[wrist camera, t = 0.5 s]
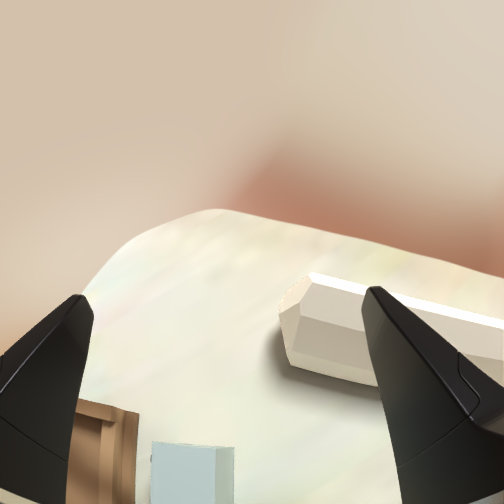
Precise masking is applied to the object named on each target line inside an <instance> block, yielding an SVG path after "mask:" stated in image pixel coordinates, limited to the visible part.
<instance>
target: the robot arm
mask: <svg viewBox="0 0 504 504" xmlns="http://www.w3.org/2000/svg"><path fill="white" fill-rule="evenodd" d="M361 313H362V318H363V323H364V328H365V334H366V339H367V345H368V350H369V355H370V359H371V363H372V366H373V370H374V373H375V377H376V381H377V384H378V388H379V392H380V396H381V399H382V403H383V407H384V412H385V416H386V420H387V424H388V429H389V433H390V438H391V442H392V447H393V452H394V457H395V462H396V467H397V474H398V479H399V485H400V491H401V498H402V504H504V387H503V386H501V385H500V384H499V383H497V382H496V381H495V380H493V379H492V378H491V377H489V376H488V375H487V374H486V373H484V372H483V371H482V370H481V369H479V368H478V367H477V366H476V365H475V364H473V363H472V362H471V361H470V360H469V359H467V358H466V357H465V356H464V355H463V354H462V353H461V352H458V350H457V349H456V348H455V347H454V346H453V345H451V344H450V343H449V342H448V341H447V340H446V339H444V338H443V337H442V336H441V335H440V334H439V333H437V332H436V331H435V330H434V329H433V328H431V327H430V326H429V325H428V324H427V323H425V322H424V321H423V320H422V319H421V318H419V317H418V316H417V315H416V314H415V313H413V312H412V311H411V310H410V309H408V308H407V307H406V306H405V305H404V304H402V303H401V302H400V301H399V300H397V299H396V298H395V297H394V296H392V295H391V294H390V293H389V292H387V291H386V290H385V289H383V288H382V287H381V286H372V287H368V288H367V290H366V293H365V296H364V299H363V303H362V307H361ZM93 321H94V314H93V311H92V309H91V307H90V305H89V303H88V301H87V299H86V297H85V296H84V295H78V294H75V295H72V296H71V297H69V298H68V299H67V300H66V301H64V302H63V303H62V304H61V305H59V306H58V307H57V308H56V309H55V310H53V311H52V312H51V313H50V314H48V315H47V316H46V317H45V318H44V319H43V320H41V321H40V322H39V323H38V324H37V325H35V326H34V327H33V328H32V329H31V330H30V331H29V332H27V333H26V334H25V335H24V336H23V337H22V338H20V340H18V341H17V342H16V343H15V344H14V345H13V346H11V347H10V348H9V349H8V350H7V351H6V352H5V353H4V355H2V356H0V504H66V487H67V473H68V461H69V452H70V444H71V437H72V430H73V424H74V418H75V412H76V406H77V401H78V396H79V391H80V387H81V382H82V377H83V373H84V369H85V365H86V360H87V355H88V350H89V343H90V337H91V331H92V326H93Z"/></svg>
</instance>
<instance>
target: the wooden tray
mask: <svg viewBox="0 0 504 504" xmlns="http://www.w3.org/2000/svg"><path fill="white" fill-rule="evenodd" d="M138 422H139V414H138V413H135V412H129V411H125V410H122V409H119V408H116V407H113V406H110V405H105V404H100V403H96V402H92V401H87V400H83V399H79V398H78V401H77V406H76V412H75V418H74V424H73V430H72V437H71V444H70V452H69V461H68V473H67V487H66V504H135V471H136V450H137V435H138Z"/></svg>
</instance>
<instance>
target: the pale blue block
mask: <svg viewBox="0 0 504 504" xmlns="http://www.w3.org/2000/svg"><path fill="white" fill-rule="evenodd" d="M150 504H234V447H219V446H204V445H193V444H179V443H165V442H154V441H152V455H151V501H150Z"/></svg>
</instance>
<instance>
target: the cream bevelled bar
mask: <svg viewBox="0 0 504 504" xmlns="http://www.w3.org/2000/svg"><path fill="white" fill-rule="evenodd" d="M367 288H368V286H364V285H360V284H356V283H352V282H349V281H345V280H341V279H337V278H333V277H329V276H325V275H321V274H317V273H311V274H308V275H307V276H306V277H304V278H303V279H302V280H300V281H299V282H297V283H296V284H295V285H293V286H292V287H291V288H289V289H288V290H287V292H286V293H285V295H284V297H283V298H282V300H281V302H280V304H279V319H280V324H281V329H282V334H283V339H284V345H285V350H286V355H287V357H288V360H289V362H290V364H291V365H292V366H295V367H299V368H302V369H306V370H310V371H313V372H317V373H321V374H324V375H328V376H332V377H336V378H340V379H344V380H349V381H353V382H357V383H362V384H366V385H371V386H375V387H378V384H377V381H376V377H375V373H374V370H373V366H372V363H371V359H370V355H369V350H368V345H367V339H366V334H365V328H364V323H363V318H362V313H361V307H362V303H363V299H364V296H365V293H366V290H367ZM387 292H388V291H387ZM389 293H390V294H391V295H392V296H394V297H395V298H396V299H397V300H399V301H400V302H401V303H402V304H404V305H405V306H406V307H407V308H408V309H410V310H411V311H412V312H413V313H415V314H416V315H417V316H418V317H419V318H421V319H422V320H423V321H424V322H425V323H427V324H428V325H429V326H430V327H431V328H433V329H434V330H435V331H436V332H437V333H439V334H440V335H441V336H442V337H443V338H444V339H446V340H447V341H448V342H449V343H450V344H451V345H453V346H454V347H455V348H456V349H457V350H458V352H461V353H462V354H463V355H464V356H465V357H466V358H467V359H469V360H470V361H471V362H472V363H473V364H475V365H476V366H477V367H478V368H479V369H481V370H482V371H483V372H484V373H486V374H487V375H488V376H489V377H491V378H492V379H493V380H495V381H496V382H497V383H499V384H500V385H501V386H503V387H504V320H500V319H495V318H491V317H487V316H483V315H479V314H475V313H471V312H467V311H463V310H459V309H455V308H451V307H447V306H443V305H439V304H435V303H431V302H427V301H423V300H419V299H415V298H412V297H408V296H404V295H400V294H396V293H392V292H389Z"/></svg>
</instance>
